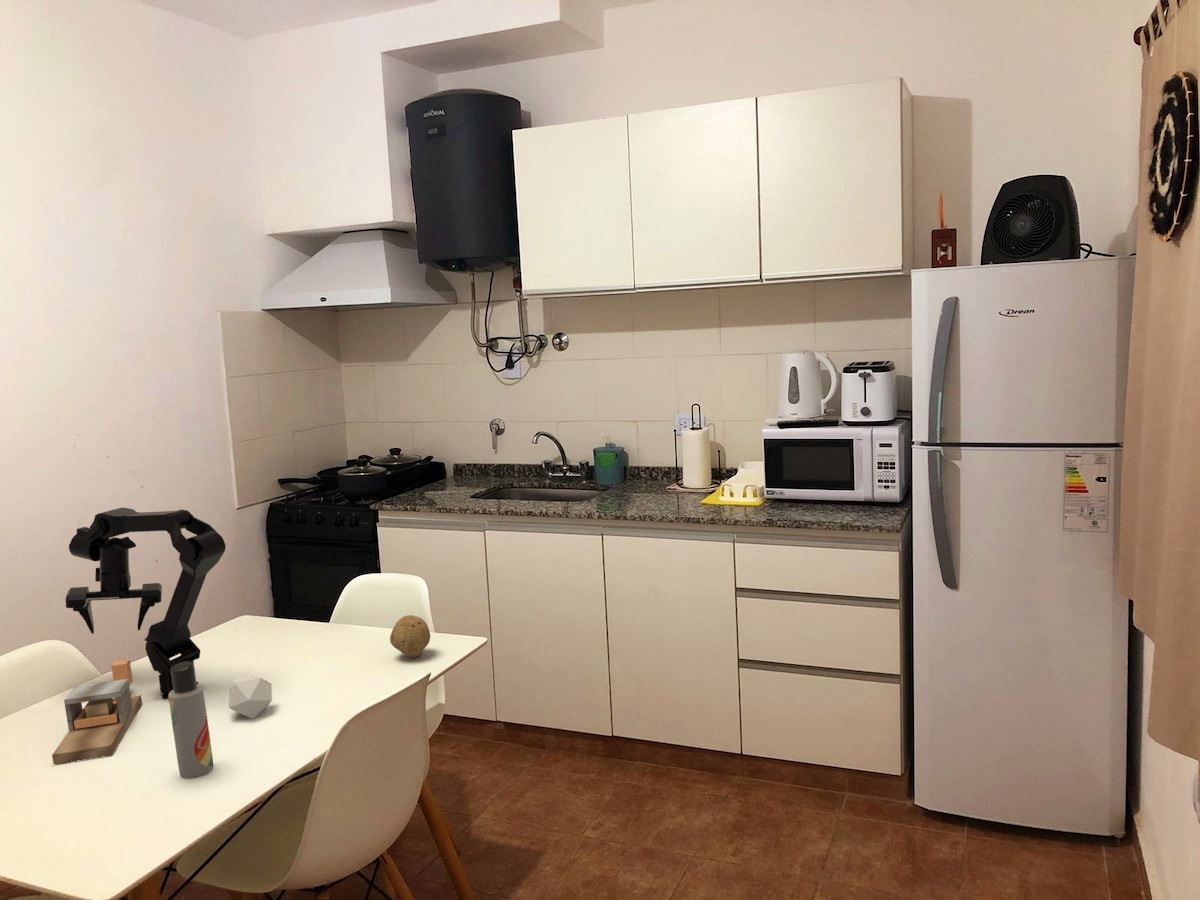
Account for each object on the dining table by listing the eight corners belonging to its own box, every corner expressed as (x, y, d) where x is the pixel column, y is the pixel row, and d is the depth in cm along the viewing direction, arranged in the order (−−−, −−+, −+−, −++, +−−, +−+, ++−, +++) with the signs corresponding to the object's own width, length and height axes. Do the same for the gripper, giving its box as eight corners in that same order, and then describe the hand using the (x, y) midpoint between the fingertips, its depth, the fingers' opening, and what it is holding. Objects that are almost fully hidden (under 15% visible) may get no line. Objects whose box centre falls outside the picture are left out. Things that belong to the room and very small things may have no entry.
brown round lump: (385, 663, 215) (381, 621, 213) (402, 649, 223) (398, 609, 222) (422, 664, 213) (418, 622, 211) (437, 650, 221) (433, 609, 220)
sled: (144, 678, 209) (140, 657, 208) (117, 722, 186) (113, 698, 186) (106, 684, 207) (103, 662, 207) (74, 728, 185) (71, 704, 184)
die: (282, 714, 192) (279, 669, 196) (252, 710, 185) (249, 663, 189) (251, 727, 194) (248, 681, 199) (220, 723, 187) (217, 676, 191)
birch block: (114, 714, 192) (112, 695, 191) (109, 722, 188) (106, 703, 187) (93, 717, 191) (90, 698, 190) (87, 725, 187) (84, 706, 186)
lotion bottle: (220, 764, 170) (206, 659, 167) (198, 780, 165) (182, 671, 162) (195, 761, 172) (180, 657, 169) (172, 776, 167) (156, 669, 164)
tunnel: (142, 703, 201) (136, 666, 200) (112, 755, 177) (105, 712, 176) (91, 711, 199) (85, 673, 198) (53, 764, 175) (46, 721, 174)
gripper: (162, 551, 219) (163, 614, 222) (70, 555, 211) (73, 620, 215) (160, 567, 209) (161, 633, 212) (64, 572, 201) (66, 640, 205)
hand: (116, 631), depth 211 cm, fingers open, 9 cm apart
